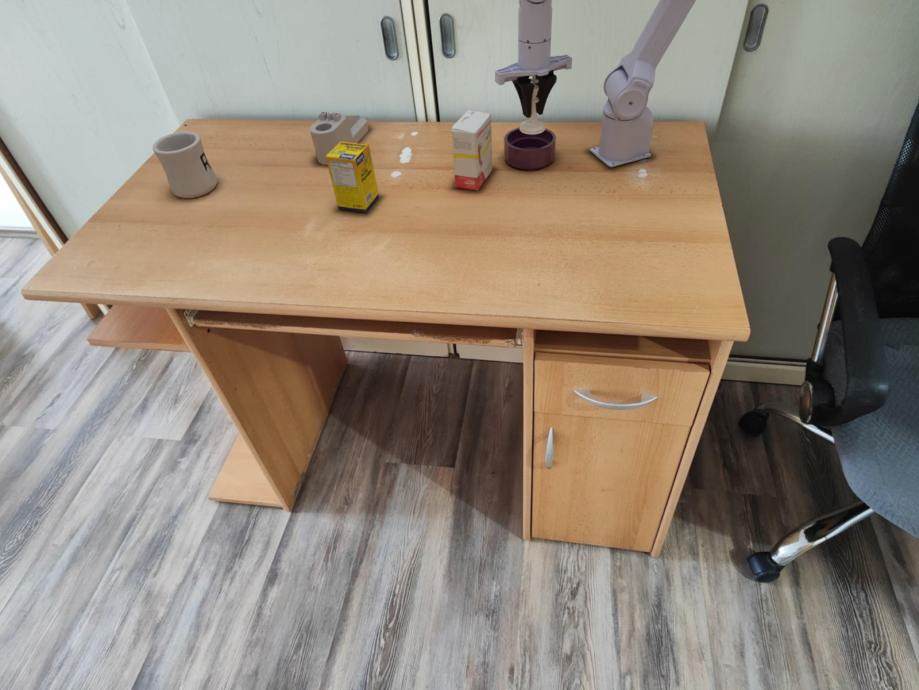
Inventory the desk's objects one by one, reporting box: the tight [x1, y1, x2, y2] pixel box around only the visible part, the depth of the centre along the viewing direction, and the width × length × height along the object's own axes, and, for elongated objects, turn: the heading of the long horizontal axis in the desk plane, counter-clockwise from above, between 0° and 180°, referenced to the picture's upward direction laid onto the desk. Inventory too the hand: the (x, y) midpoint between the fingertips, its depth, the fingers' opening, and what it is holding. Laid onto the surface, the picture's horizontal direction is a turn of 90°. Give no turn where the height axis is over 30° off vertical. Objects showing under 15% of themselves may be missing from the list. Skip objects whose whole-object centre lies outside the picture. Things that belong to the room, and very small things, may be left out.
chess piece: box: [519, 76, 546, 135], centre depth 110 cm, size 5×5×10 cm
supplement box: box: [326, 141, 380, 214], centre depth 107 cm, size 6×6×11 cm
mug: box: [152, 131, 218, 199], centre depth 117 cm, size 12×9×10 cm
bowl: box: [503, 126, 557, 171], centre depth 117 cm, size 10×10×4 cm
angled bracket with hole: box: [309, 111, 369, 166], centre depth 126 cm, size 6×18×8 cm, turn 163°
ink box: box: [451, 109, 493, 192], centre depth 111 cm, size 9×5×12 cm, turn 157°
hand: (532, 114), depth 111 cm, fingers closed on chess piece
